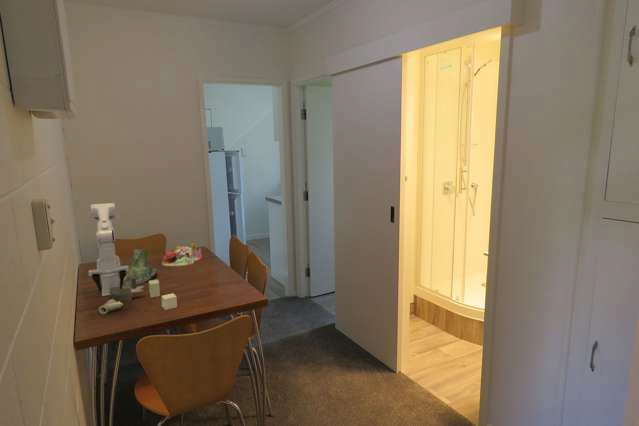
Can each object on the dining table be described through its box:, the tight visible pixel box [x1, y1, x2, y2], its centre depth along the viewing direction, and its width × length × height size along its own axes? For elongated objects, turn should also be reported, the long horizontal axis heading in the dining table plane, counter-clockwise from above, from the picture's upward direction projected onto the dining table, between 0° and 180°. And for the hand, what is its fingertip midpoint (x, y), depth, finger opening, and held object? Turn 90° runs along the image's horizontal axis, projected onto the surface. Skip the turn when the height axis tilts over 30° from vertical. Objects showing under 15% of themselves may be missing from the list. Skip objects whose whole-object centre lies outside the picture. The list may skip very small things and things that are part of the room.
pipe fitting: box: [98, 299, 124, 315], centre depth 166 cm, size 8×4×7 cm
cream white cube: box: [160, 293, 178, 311], centre depth 169 cm, size 5×5×5 cm
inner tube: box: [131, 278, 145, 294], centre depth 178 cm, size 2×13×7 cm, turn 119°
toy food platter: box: [161, 243, 203, 267], centre depth 243 cm, size 25×24×9 cm
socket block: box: [148, 279, 161, 298], centre depth 184 cm, size 6×4×6 cm, turn 29°
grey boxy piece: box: [109, 285, 133, 303], centre depth 177 cm, size 5×8×6 cm, turn 119°
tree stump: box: [118, 248, 158, 287], centre depth 207 cm, size 19×21×19 cm
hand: (111, 289), depth 162 cm, fingers open, 7 cm apart
